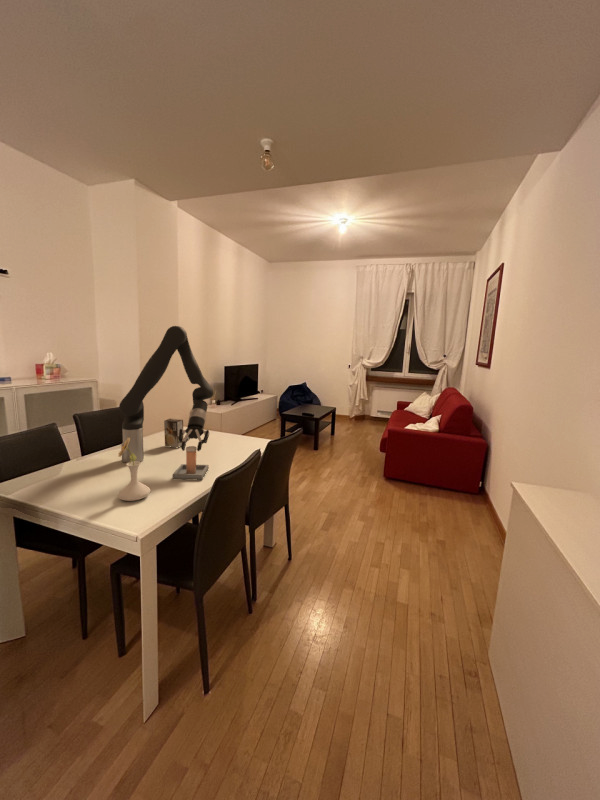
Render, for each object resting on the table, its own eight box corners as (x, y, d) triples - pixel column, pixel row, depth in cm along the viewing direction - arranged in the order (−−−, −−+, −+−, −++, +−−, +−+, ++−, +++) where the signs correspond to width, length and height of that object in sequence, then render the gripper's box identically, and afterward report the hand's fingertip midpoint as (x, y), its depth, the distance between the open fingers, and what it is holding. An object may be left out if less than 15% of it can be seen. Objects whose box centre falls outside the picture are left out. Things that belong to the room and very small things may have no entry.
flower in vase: (126, 490, 134) (123, 431, 130) (154, 491, 135) (153, 432, 131) (110, 505, 121) (107, 440, 118) (142, 506, 122) (139, 441, 118)
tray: (172, 479, 147) (172, 474, 147) (181, 469, 160) (181, 464, 160) (202, 480, 148) (202, 474, 147) (208, 469, 161) (208, 464, 160)
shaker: (184, 474, 151) (184, 449, 149) (187, 470, 156) (187, 446, 154) (194, 474, 152) (195, 449, 150) (197, 470, 156) (197, 446, 154)
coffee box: (184, 445, 197) (184, 419, 195) (178, 448, 191) (177, 421, 189) (170, 444, 199) (170, 418, 197) (164, 447, 193) (163, 420, 191)
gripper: (180, 415, 158) (172, 445, 148) (210, 415, 158) (205, 446, 148) (184, 423, 164) (176, 453, 154) (213, 424, 164) (207, 454, 155)
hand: (190, 450), depth 151 cm, fingers open, 6 cm apart
